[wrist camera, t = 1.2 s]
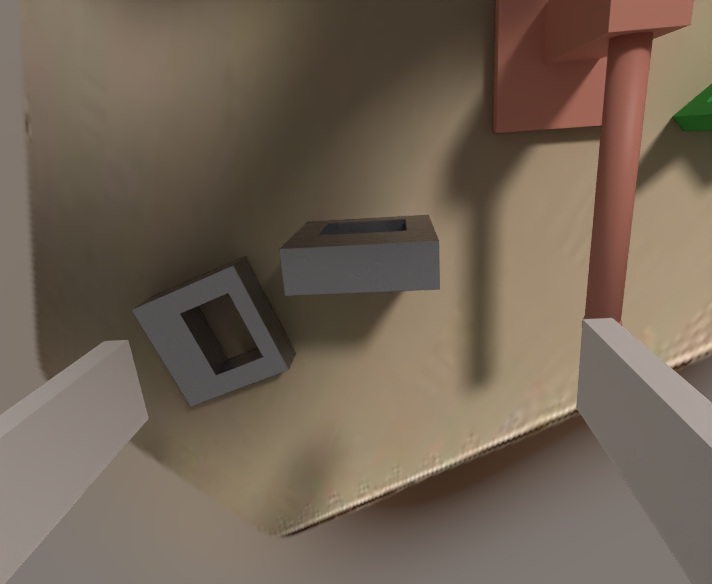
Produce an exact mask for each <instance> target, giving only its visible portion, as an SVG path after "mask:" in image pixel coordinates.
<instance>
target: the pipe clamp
mask: <svg viewBox="0 0 712 584" xmlns="http://www.w3.org/2000/svg"><path fill="white" fill-rule="evenodd" d="M673 118H674V119H675V121H676V122H677V123H678V125H679V126H680V127H681V128H682V130H683V131H712V84H711V85H710V86H708V87H707V88H706V89H705V90H704V91H702V92H701V93H700V94H699V95H698V96H696V97H695V98H694V99H693V100H692V101H691V102H689V103H688V104H687V105H686V106H685V107H683V108H682V109H681V110H680V111H679V112H677V113H676V114H675V115H674V116H673Z"/></svg>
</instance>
